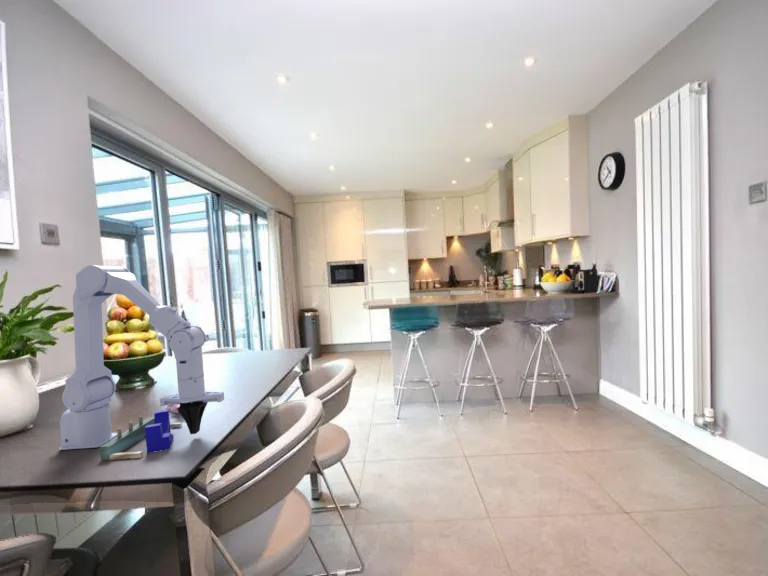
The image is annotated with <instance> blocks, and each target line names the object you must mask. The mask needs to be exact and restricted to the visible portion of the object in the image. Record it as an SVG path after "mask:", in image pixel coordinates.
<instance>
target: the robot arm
mask: <svg viewBox="0 0 768 576" xmlns="http://www.w3.org/2000/svg"><path fill="white" fill-rule="evenodd" d="M75 285H76V287H75V289H74V293H73V295H72V307H73V310H72V311H73V332H74V333H73V335H74V355H75V356H74V359H75V369H74V370H73V371H72V373H71V374H70V375H69V376H67V378H66V379H65V385H64V390H63V392H62V395H61V398H62V403H63V405H64V406H65V407H66V408H67V409H66V410H65V411H64V412H63V413H62V414H61V418H60V422H59V430H60V439H61V446H60V447H59V449H58V450H59V451H65V450H78V449H80V450H81V449H93V448H94V449H95V448H100V447H101V446H102V445H104V444H106V443H107V442H109V441H111V440H112V439H114V438H116V437H117V436H118V435H117V432H113V431H112V422H111V420H112V419H111V409H110V408H111V407H110V406H111V405H110V402H112V397H113V396H114V395H115V393H116V391H117V387H116V383H115V380H114V378H113V374H112V370H111V369H109V368H108V367H107V366H106V365H105V364H104V363H105V362H104V336H103V314H102V313H103V312H102V311H103V307H102V305H103V303H104V302H105V301H107V300H108V299H109V298H110V297H112V296H114V295H122V296H124V297H125V298H126V299H128V300H129V301H131V303H133V304H134V306H135V305H136V306H137V307H138V308H139V309H140V310H142V311H143V312H144V313H145V314H147V316H148V323H149V324H150V325H152V327H153V328H154V329H156V330H157V331H158V332H159V333H160V334H161V335H162V336H164V338H166V339H167V340H168V347H169V348H170V350H171V351H172V352H173V354H174V359H175V365H176V378H177V391H178V393H175V394H170V395H163V396H162V397H160V398H159V403H160V407H165V406H167V405H172V404H180V407H179V408H178V412H179V413H180V414H179V415H181V417H182V419H183V420H184V422H185V424H186V425H187V428H188V431H189V435H196V434H197V433H199V432H200V429H201V424H202V423H201V422H202V419H203V415H204V412H205V411H206V407H207V405H208V403H211V402H212V403H214V402H216V403H221V402H223V401H224V400H225V394H224V393H225V392H224V391H206V388H205V374H204V373H205V371H204V360H203V349H202V347H203V346H204V345H205V342H206V337H207V336H206V333H205V332H204V330H203V329H202V327H201V326H198V325H193V324H192V323H191V322H190V321H188V320H185V318H184V317H182V316H181V315H180V314H179V313H178V312H177V311H178V309H176V308H175V306H172V307H171V306H169V305H161V304H160V303H159V302H158V300H157V299H155V297H154V296H153V295H151V293H149V291H147V289H146V288H145V287H144V286H143V285H142V284H141V283H140V282H139V281H138V280H137V276H136V275H135V274H134V273H133V272H131V271H130V270H129V269H128V268H127V267H125V266H122V265H116V266H115V265H114V266H113V265H112V266H111V265H96V264H88V265H86V266H84V267H83V268H82V269H80V271H78V272H77V273H76V274H75Z"/></svg>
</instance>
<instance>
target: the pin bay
mask: <svg viewBox="0 0 768 576" xmlns="http://www.w3.org/2000/svg"><path fill="white" fill-rule="evenodd" d="M127 424H128V429H127V430H125V431H124V432H122V427H118V428H117V429H116V433H117V435H118V436H116V437H115V438H113V439H112V440H110V441H108V442H107V443H105V444H103V445H102V446H100V447H99V452H100V453H99V455H100V461H111V460H113V461H114V460H128V459H127V458H130V459H139V458H142V457H143V456H144V455H143V454H144V453H143V450H141V451H140V450H139V451H126V450H127V449H128V448H130V447H131V446H133V445H134V444H136V443H137V442H139V441H141V440H142V439H143V438H145V437H146V436H145V435H146V434H145V427H146V425H152V424H154V416H148V417H147V418H145V419H143V415H139V416H138V423H137V424H135V425H133V421H129V422H128V423H127ZM172 427H180V428H182V427H183V423H182V422H170V429H173V428H172ZM144 436H145V437H144ZM142 437H143V438H142ZM141 438H142V439H141ZM138 440H139V441H138ZM129 446H130V447H129ZM126 448H127V449H126ZM122 451H123V452H122ZM125 451H126V452H125ZM141 456H142V457H141Z"/></svg>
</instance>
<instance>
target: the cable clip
mask: <svg viewBox="0 0 768 576" xmlns="http://www.w3.org/2000/svg"><path fill="white" fill-rule="evenodd" d="M153 415H154V416H153V417H154V424H152V425H146V427H145V434H146V436H145V443H146V444H145V446H146V454H150V453H149V452H152V453H155V452H154V451H157V452H160V450H162V451H166V450H165V449H167V450H170V449H171V447H172V444H173V442H174V440H173V439H175V438H174V433H172V432H171V428H170V423H171V421H170V420H171V419H170V411H169V409H168V410H165V409H163V410H156V411H155V412H154V413H153Z"/></svg>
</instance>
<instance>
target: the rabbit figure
mask: <svg viewBox="0 0 768 576" xmlns="http://www.w3.org/2000/svg"><path fill="white" fill-rule="evenodd" d="M179 407H180V404H172V405H166V407H165V408H164V410H168V409H169V412H171V413H173V414H178V415H181V414H180V413H179V412H178V408H179Z"/></svg>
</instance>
